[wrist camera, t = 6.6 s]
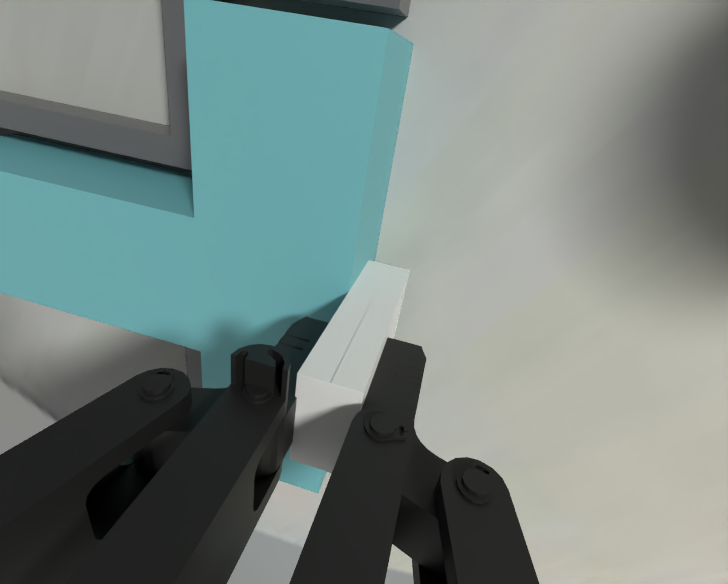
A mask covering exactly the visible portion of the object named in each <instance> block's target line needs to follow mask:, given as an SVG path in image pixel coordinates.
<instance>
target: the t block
mask: <svg viewBox="0 0 728 584" xmlns="http://www.w3.org/2000/svg"><path fill="white" fill-rule="evenodd" d="M184 18H185V39H186V60H187V80H188V101H189V121H190V142H191V162H192V174H189V173H185V172H180V171H176V170H171V169H167V168H163V167H158V166H154V165H149V164H145V163H140V162H136V161H132V160H127V159H123V158H118V157H114V156H109V155H105V154H101V153H96V152H92V151H87V150H83V149H78V148H74V147H70V146H65V145H61V144H56V143H52V142H47V141H43V140H39V139H34V138H30V137H25V136H21V135H16V134H13V135H4V136H0V293H3V294H7V295H10V296H13V297H17V298H20V299H24V300H27V301H30V302H34V303H37V304H41V305H44V306H48V307H51V308H54V309H58V310H61V311H65V312H68V313H71V314H75V315H78V316H82V317H85V318H88V319H92V320H95V321H99V322H102V323H106V324H109V325H112V326H116V327H119V328H123V329H126V330H129V331H133V332H136V333H140V334H143V335H147V336H150V337H153V338H157V339H160V340H164V341H167V342H170V343H174V344H177V345H181V346H184V347H187V348H191V349H194V350H198V351H201V367H202V388H226V387H228V386H229V385H230V384H231V354H232V353H233V352H235V351H236V350H237V349H239V348H242V347H244V346H247V345H253V344H265V345H272V346H275V345H276V344H278V342H279V340H280V339H281V338H282V336H283V335H285V333H286V331H287V330H288V329H289V327H290V326H291V325H292V324H293V323H294V322H296V321H298V320H300V319H302V318H304V317H310V318H313V319H317V320H321V321H324V322H328V323H329V322H330V321H331V319H332V317H333V316H334V314H335V313H336V311H337V310H338V308H339V306H340V305H341V303H342V302H343V300H344V298H345V297H346V295H347V294H348V292H349V291H350V289H351V287H352V286H353V284H354V283H355V281H356V279H357V278H358V276H359V275H360V273H361V272H362V270H363V268H364V267H365V265H366V264H367V262H368V260H370V261H374V262H375V257H376V251H377V246H378V240H379V234H380V229H381V223H382V218H383V212H384V206H385V201H386V195H387V190H388V184H389V178H390V173H391V167H392V162H393V156H394V150H395V145H396V139H397V134H398V128H399V122H400V117H401V111H402V106H403V100H404V94H405V89H406V83H407V78H408V72H409V66H410V61H411V55H412V50H413V43H412V42H410V41H409V40H407V39H405V38H404V37H402V36H400V35H399V34H397V33H396V32H394V31H392V30H391V29H389V28H384V27H378V26H371V25H365V24H359V23H352V22H346V21H340V20H333V19H327V18H321V17H314V16H308V15H302V14H295V13H289V12H283V11H276V10H270V9H263V8H257V7H251V6H244V5H238V4H232V3H225V2H219V1H213V0H184ZM289 456H290V448H289V450H288V451H287V453H286V455H285V457H284V459H283V462H282V471H281V475H280V479H279V480H280V481H283V482H286V483H289V484H292V485H295V486H298V487H301V488H304V489H307V490H310V491H313V492H316V493H318V492H319V490H320V487H321V485H322V482H323V480H324V477H325V475H326V472H327V471H324V470H321V469H318V468H315V467H312V466H308V465H305V464H302V463H299V462H296V461H293V460H290V459H289Z"/></svg>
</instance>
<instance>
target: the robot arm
mask: <svg viewBox="0 0 728 584" xmlns="http://www.w3.org/2000/svg"><path fill="white" fill-rule="evenodd" d="M409 272H410V270H407V269H403V268H399V267H395V266H391V265H387V264H382V263H378V262H374V261H370V260H368V262H367V264H366V265H365V267H364V268H363V270H362V272H361V273H360V275H359V276H358V278H357V279H356V281H355V283H354V284H353V286H352V287H351V289H350V291H349V292H348V294H347V295H346V297H345V298H344V300H343V302H342V303H341V305H340V306H339V308H338V310H337V311H336V313H335V314H334V316H333V317H332V319H331V321H330V322H329V323H328V322H324V321H321V320H317V319H313V318H310V317H304V318H302V319H300V320H298V321H296V322H294V323H293V324H292V325H291V326H290V327H289V329H288V330H287V331H286V333H285V335H283V336H282V338H281V339H280V340H279V342H278V344H276V345H275V346H272V345H265V344H253V345H247V346H244V347H242V348H239V349H237V350H236V351H235V352H233V353H232V354H231V384H230V385H229V386H228V387H226V388H193V387H191V384H190V380H189V377H187V376H186V375H185V374H184V373H183V372H181V371H178V370H175V369H167V368H159V369H154V370H148V371H146V372H143V373H141V374H139V375H137V376H135V377H133V378H131V379H130V380H128V381H126V382H124V383H123V384H121V385H119V386H118V387H116V388H114V389H112V390H111V391H109V392H107V393H106V394H104V395H102V396H100V397H99V398H97V399H95V400H94V401H92V402H90V403H88V404H87V405H85V406H83V407H82V408H80V409H78V410H76V411H75V412H73V413H71V414H70V415H68V416H66V417H64V418H63V419H61V420H59V421H58V422H56V423H54V424H52V425H51V426H49V427H47V428H46V429H44V430H42V431H41V432H39V433H37V434H35V435H34V436H32V437H30V438H29V439H27V440H25V441H23V442H22V443H20V444H18V445H16V446H15V447H13V448H11V449H10V450H8V451H6V452H4V453H3V454H1V455H0V584H227V582H228V580H229V578H230V576H231V574H232V572H233V570H234V568H235V566H236V564H237V562H238V560H239V558H240V556H241V554H242V552H243V550H244V548H245V546H246V544H247V542H248V540H249V538H250V536H251V534H252V532H253V530H254V528H255V526H256V524H257V522H258V520H259V518H260V516H261V514H262V513H263V511H264V509H265V507H266V505H267V503H268V501H269V499H270V497H271V495H272V493H273V491H274V489H275V487H276V485H277V483H278V481H279V479H280V475H281V471H282V462H283V459H284V457H285V455H286V453H287V451H288V450H289V448H290V456H289V459H290V460H293V461H296V462H299V463H302V464H305V465H308V466H312V467H315V468H318V469H321V470H324V471H327V472H330V473H332V474H331V477H330V479H329V482H328V484H327V487H326V490H325V492H324V495H323V497H322V500H321V503H320V505H319V508H318V510H317V513H316V516H315V518H314V521H313V524H312V526H311V529H310V531H309V534H308V537H307V539H306V542H305V544H304V547H303V550H302V552H301V555H300V558H299V560H298V563H297V565H296V568H295V570H294V573H293V576H292V578H291V581H290V584H384V582H385V578H386V572H387V567H388V562H389V557H390V552H391V547H392V544H393V545H395V546H396V547H397V548H399V549H400V550H401V551H403V552H404V553H405V554H407V555H408V556H409V557H411V558H412V567H413V578H414V584H539V581H538V578H537V575H536V572H535V569H534V566H533V563H532V560H531V557H530V554H529V551H528V548H527V545H526V542H525V539H524V536H523V533H522V530H521V527H520V524H519V521H518V518H517V515H516V512H515V508H514V505H513V502H512V499H511V496H510V493H509V490H508V488H507V486H506V484H505V483H504V481H503V479H502V477H501V476H500V475H499V474H498V473H497V472H496V471H495V470H494V469H493V468H491V467H490V466H488V465H486V464H485V463H483V462H481V461H479V460H475V459H472V458H468V457H465V458H455V459H453V460H451V461H449V462H446V461H444V460H443V459H441V458H439V457H438V456H436V455H435V454H433V453H432V452H431V451H429V450H428V449H427V448H426V447H425V446H424V445H423V444H422V443H421V442H420V440H419V438H418V437H417V435H416V432H415V429H414V419H415V414H416V409H417V403H418V398H419V393H420V388H421V382H422V378H423V372H424V368H425V362H426V357H425V355H424V352H423V350H422V347H421V346H418V345H414V344H411V343H407V342H403V341H399V340H396V339H394V337H395V333H396V329H397V325H398V320H399V316H400V311H401V307H402V303H403V298H404V294H405V289H406V285H407V281H408V276H409Z"/></svg>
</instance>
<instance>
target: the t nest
mask: <svg viewBox="0 0 728 584" xmlns="http://www.w3.org/2000/svg"><path fill="white" fill-rule="evenodd" d="M213 1H219V2H220V0H213ZM301 1H307V2H314V3H320V4H327V5H333V6H340V7H346V8H353V9H359V10H366V11H372V12H379V13H385V14H392V15H398V16H405V17H408V12H409V6H410V0H301ZM161 3H162V18H163V32H164V46H165V61H166V75H167V89H168V104H169V118H170V126H167V125H162V124H157V123H152V122H148V121H143V120H138V119H133V118H128V117H124V116H119V115H114V114H109V113H105V112H100V111H95V110H90V109H86V108H81V107H76V106H71V105H67V104H62V103H57V102H52V101H48V100H43V99H38V98H33V97H28V96H24V95H19V94H14V93H9V92H5V91H0V127H1V128H6V129H10V130H15V131H19V132H24V133H28V134H33V135H37V136H41V137H46V138H50V139H55V140H59V141H64V142H68V143H72V144H77V145H81V146H86V147H90V148H95V149H99V150H104V151H108V152H112V153H117V154H121V155H126V156H130V157H135V158H139V159H143V160H148V161H152V162H157V163H161V164H166V165H170V166H175V167H179V168H183V169H188V170H192V162H191V142H190V121H189V101H188V80H187V60H186V39H185V18H184V0H161ZM186 361H187V376H188V377H189V380H190V384H191V387H193V388H202V367H201V351H198V350H194V349H191V348H187V347H186Z"/></svg>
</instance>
